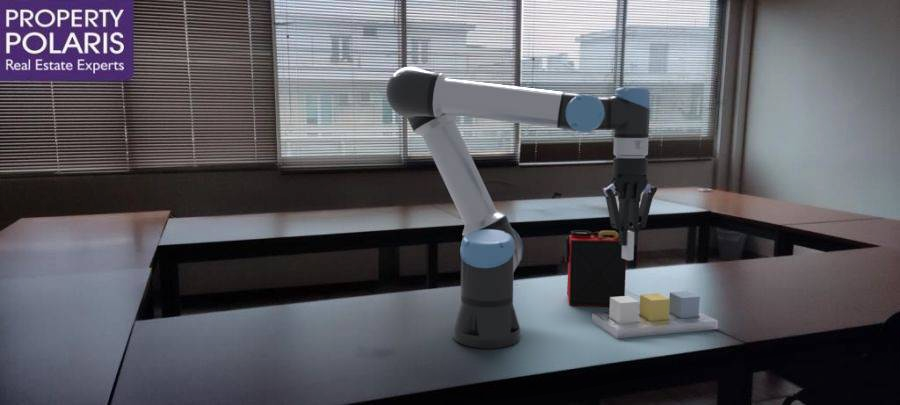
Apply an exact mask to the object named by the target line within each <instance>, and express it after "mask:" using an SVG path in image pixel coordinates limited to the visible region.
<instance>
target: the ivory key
mask: <svg viewBox="0 0 900 405" xmlns="http://www.w3.org/2000/svg"><path fill="white" fill-rule="evenodd" d="M639 309H640V300H637V299H635V298H633V297H631V296H630V295H625V296H619V297H610V306H609V310H608V312H609V318H611V319H612V320H614V321H615V322H617V323H618V324H629V323H638V318H639Z"/></svg>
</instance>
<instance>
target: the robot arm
mask: <svg viewBox="0 0 900 405" xmlns="http://www.w3.org/2000/svg"><path fill="white" fill-rule="evenodd" d="M650 95H651V94H650V90H649V89H648V88H646V87H644V86H629V87H625V86H624V87H617V88H615V92H614V94H613V96H607V97H605V96H604V97H603V96H602V97H601V96H600V97H599V96H595V95H594V94H591V93H575V92H563V91H556V90H550V89H549V90H547V89H540V88H533V87H532V88H531V87H530V88H529V87H521V86H514V85H505V84H504V85H503V84H498V83H488V82H479V81H470V80H463V79H462V80H461V79H454V78H447V76H446V75H445V73H442V72H436V71H435V70H430V69H424V68H422V67H420V66H419V67H418V66H412V65H411V66H405V67H402V68H399V69H398V70H396V71H394V73H393V74H392V75H391V77H390V78H389V80H388V81H387V85H386V98H387V102H388V104H389V106H390V108H391V109H392V110H393V111H394V112H395V113H396V114H398V115H399V116H402V117H404V118H407V121H408V123H409V125H410V127H411V129H412V132H413V133H414V134H416V135H418V136H420V137H422V138H423V140H424V142H425V144H426V146H427V148H428V151H429V152H430V155H431V157H432V159H433V161H434V163H435V165H436V168H437V169H438V172H439V174H440V176H441V178H442V181H443V182H444V184H445V187H446V189H447V190H448V193H449V195H450V197H451V200H452V201H453V203H454V206H455V207H456V210H457V211H458V214H459V216H460V217H461V220H462V222H463V225H464V226H463V227H464V228H463V230H462V234H461V235H462V240H461V243H460V244H461V246H460V249H459V254H460V255H459V256H460V304H459V307H458V310H457V313H456V317H455V320H454V322H453V325H452V338H453V340H455V342H457V343H458V344H461V345H463V346H467V347H471V348H475V349H488V350H489V349H501V348H507V347H510V346H513V345H515V344H517V343H518V342H519V341H520V340H521V326H520V323H519V320H518V316H517V312H516V310H515V307H514V272H515V271H516V269H517V267H519V265H520V263H521V261H522V258H523V254H524V253H523V252H524V247H523V241H522V238H521V237H520V235H519V233H518V232H517V230H515V229H514V228H512V226H511V223H510V221H509V219H508V216H507V215H506V214H505V213H503V212H500V211H498V210H497V209H496V206H495V204H494V202H493V200H492V198H491V196H490V193H489V192H488V189H487V187H486V185H485V183H484V181H483V179H482V176H481V175H480V172H479V170H478V168H477V166H476V164H475V162H474V159H473V157H472V154H470V151H469V149H468V146H467V144H466V142H465V141H464V138H463V136H462V134H461V132H460V130H459V128H458V125H457V124H456V118H457V116H461V117H467V118H477V119H482V120H483V119H485V120H494V121H499V122H500V121H501V122H508V123H516V124H517V123H518V124H524V125H532V126H539V127H547V128H555V129H556V128H557V129H561V130H562V131H572V132H580V133H591V132H593V131H594V132H595V131H613V156H615V157H614V158H613V159H612V162H613V163H612V173H613V177H612V179H611V184H609V185H608V186H607V187H602V188H601V193H602V194H603V196H604V197H605V200H606V206H607V212H608V216H609V220H610V222H609V223H610V226H611V228H613V229H615V230H618V232H619V244H620V245H622V258H623V259H625V260H626V261H634V257H635V256H634V254H635V253H634V252H635V246H636V245H637V243H638V233H640V231H641V229H645V228H646V225H647V222H648V218H649V214H650V211H651V206H652V202H653V198H654V196H655V194H656V192H657V191H658V188H657V187H656V186H653V185H651V184H650V183H649V180H648V178H647V175H648V168H649V159H648V158H647V157H646V156H648V155H649V134H650V117H651V116H650V113H651V107H650V106H651V103H650V102H651V101H650V99H651V98H650ZM616 193H617V197H616ZM617 201H618V202H617Z"/></svg>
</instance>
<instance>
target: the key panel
mask: <svg viewBox="0 0 900 405" xmlns="http://www.w3.org/2000/svg"><path fill="white" fill-rule="evenodd" d="M639 313H640V308H639ZM591 322H592V323H594V324H595V325H596V326H598V327H600V328H601V329H602V330H604V331H605V332H607V333H608V334H610V335H611V336H612V337H614V338H615V339H627V338H636V337H647V336H657V335H658V336H659V335H667V334H668V335H671V334H680V333H690V332H701V331H702V332H703V331H711V330H718V328H719V327H718V326H719V320H717V319H715V318H714V317H711V316H710V315H706V314H704V313H703V312H701V311H699V317H693V318H682V319H681V318H679V317H677V316H675V315H673V314H671V313H669V320H660V321H649V320H647V319H646V318H644V317H642V316H640V315H639V318H638V323H628V324H618V323H617V322H615V321H614V320H612V319H611V318H609V311H604V312H594V313H593V312H592V313H591Z"/></svg>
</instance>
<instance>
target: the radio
mask: <svg viewBox="0 0 900 405" xmlns="http://www.w3.org/2000/svg"><path fill="white" fill-rule="evenodd" d="M564 245H565V246H564V256H565V259H564V261H565V263H567V283H566V284H567V287H566V288H567V289H566V294H567V302H568V305H569V306H593V307H594V306H595V307H610V297H619V296H626V295H625V294H626V271H627V270H626V269H627V260H625V259H623V258H622V245H620V244H619V233H618V232H617V231H616V230H600V231H595V232H593V231H589V230H584V229H583V230H581V229H575V230H570V234H569V235H568V237H565V244H564Z"/></svg>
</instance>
